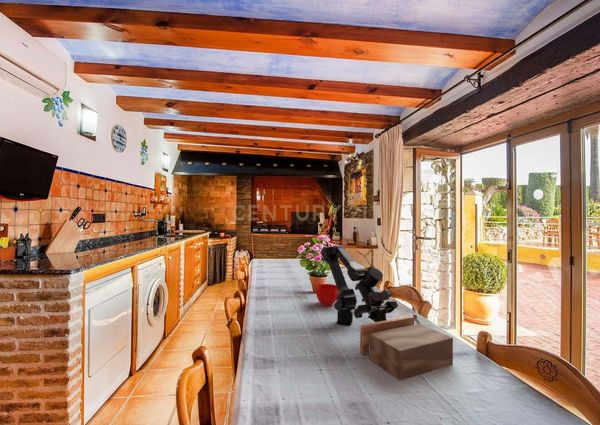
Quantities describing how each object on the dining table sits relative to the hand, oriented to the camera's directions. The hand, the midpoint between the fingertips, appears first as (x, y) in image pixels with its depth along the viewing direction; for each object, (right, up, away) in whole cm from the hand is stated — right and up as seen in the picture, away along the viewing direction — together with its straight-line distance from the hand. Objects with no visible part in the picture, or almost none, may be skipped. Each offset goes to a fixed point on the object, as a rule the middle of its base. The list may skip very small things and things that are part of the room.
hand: (386, 329), depth 109 cm
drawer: (+3, -6, -7) cm, 10 cm away
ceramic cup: (-17, -8, +52) cm, 55 cm away
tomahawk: (+24, -8, +25) cm, 36 cm away
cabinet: (+5, -7, -11) cm, 14 cm away
